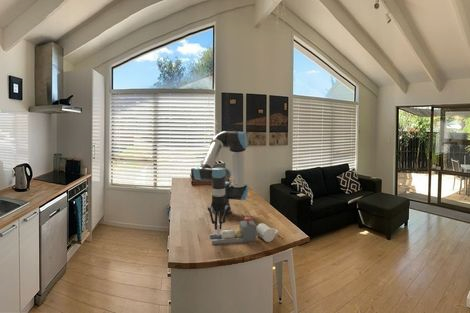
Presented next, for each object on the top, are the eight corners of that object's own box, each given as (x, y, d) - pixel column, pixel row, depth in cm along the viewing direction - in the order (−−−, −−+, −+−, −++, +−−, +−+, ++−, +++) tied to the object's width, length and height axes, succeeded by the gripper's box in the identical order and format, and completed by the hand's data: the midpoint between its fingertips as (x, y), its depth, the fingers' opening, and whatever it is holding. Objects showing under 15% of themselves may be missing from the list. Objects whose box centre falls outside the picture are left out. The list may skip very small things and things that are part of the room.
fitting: (221, 237, 161) (221, 228, 160) (232, 237, 162) (233, 228, 161) (222, 241, 155) (223, 232, 155) (234, 241, 157) (234, 231, 156)
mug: (263, 243, 158) (263, 229, 157) (255, 236, 167) (255, 224, 166) (280, 239, 163) (281, 227, 162) (272, 233, 172) (272, 221, 171)
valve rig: (209, 238, 162) (210, 217, 160) (251, 236, 167) (252, 215, 165) (211, 246, 152) (212, 223, 150) (256, 243, 157) (257, 220, 156)
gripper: (208, 197, 149) (207, 238, 152) (231, 196, 152) (230, 236, 155) (206, 193, 156) (206, 232, 159) (228, 193, 159) (227, 231, 162)
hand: (217, 234), depth 157 cm, fingers closed
